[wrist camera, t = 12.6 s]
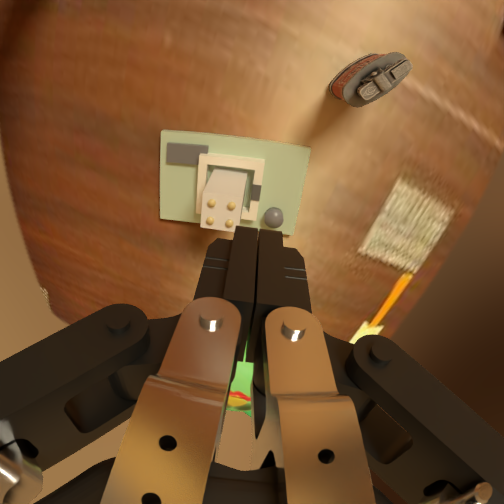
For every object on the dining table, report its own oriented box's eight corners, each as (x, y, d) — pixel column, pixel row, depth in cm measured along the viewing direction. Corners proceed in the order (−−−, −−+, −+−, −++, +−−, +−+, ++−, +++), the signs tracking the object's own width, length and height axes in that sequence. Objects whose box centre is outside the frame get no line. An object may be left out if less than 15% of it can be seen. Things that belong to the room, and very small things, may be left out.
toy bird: (304, 320, 52) (311, 394, 40) (269, 374, 61) (268, 438, 49) (199, 292, 50) (180, 366, 38) (182, 353, 59) (167, 417, 47)
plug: (212, 196, 40) (200, 228, 33) (215, 167, 38) (202, 193, 31) (243, 201, 40) (238, 233, 33) (248, 171, 38) (243, 198, 31)
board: (162, 215, 43) (156, 224, 40) (163, 129, 36) (156, 134, 34) (292, 231, 43) (293, 241, 41) (310, 146, 37) (313, 152, 34)
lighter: (340, 105, 33) (364, 119, 25) (322, 83, 32) (341, 89, 24) (390, 69, 30) (427, 74, 22) (373, 47, 29) (407, 44, 21)
